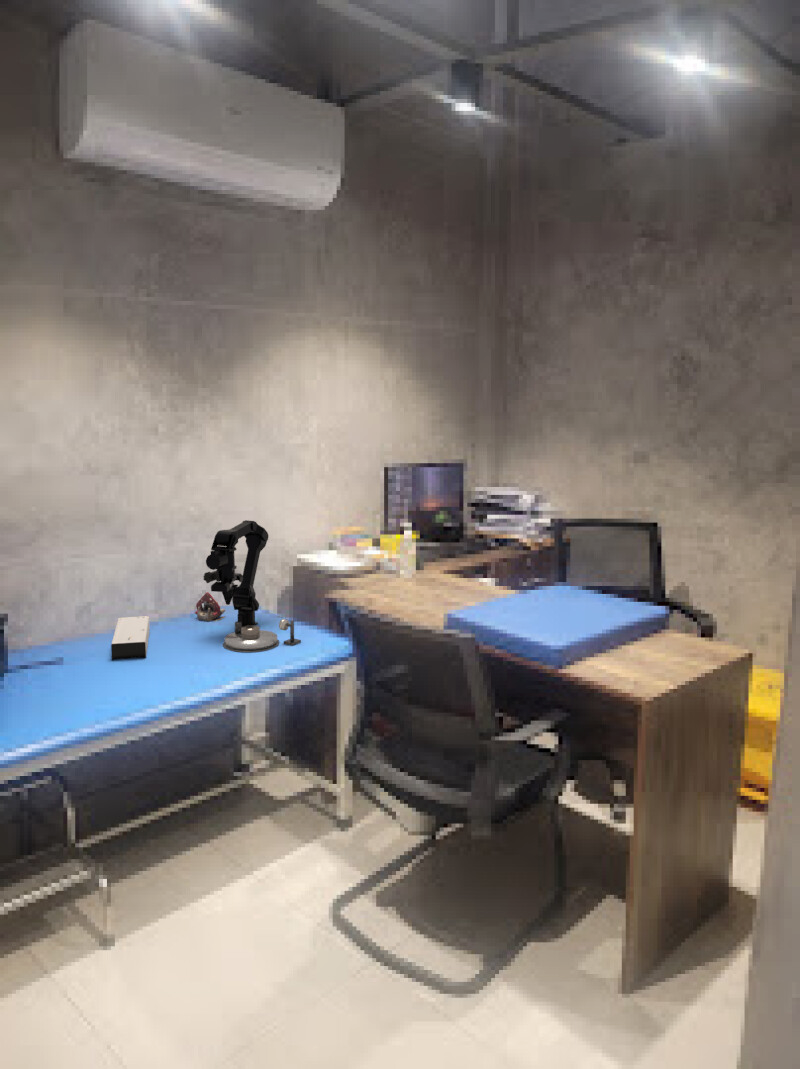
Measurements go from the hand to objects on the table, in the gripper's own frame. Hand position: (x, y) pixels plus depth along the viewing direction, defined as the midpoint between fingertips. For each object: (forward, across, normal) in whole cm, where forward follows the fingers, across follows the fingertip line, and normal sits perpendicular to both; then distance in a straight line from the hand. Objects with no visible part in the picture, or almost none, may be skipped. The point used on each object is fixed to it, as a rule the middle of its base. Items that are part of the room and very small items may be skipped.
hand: (227, 604), depth 309 cm
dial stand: (+12, +6, +26) cm, 30 cm away
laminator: (+12, +19, -30) cm, 38 cm away
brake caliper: (+12, -20, -16) cm, 28 cm away
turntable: (+12, +9, +12) cm, 19 cm away
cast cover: (+9, +9, +12) cm, 18 cm away
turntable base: (+12, +9, +12) cm, 19 cm away
